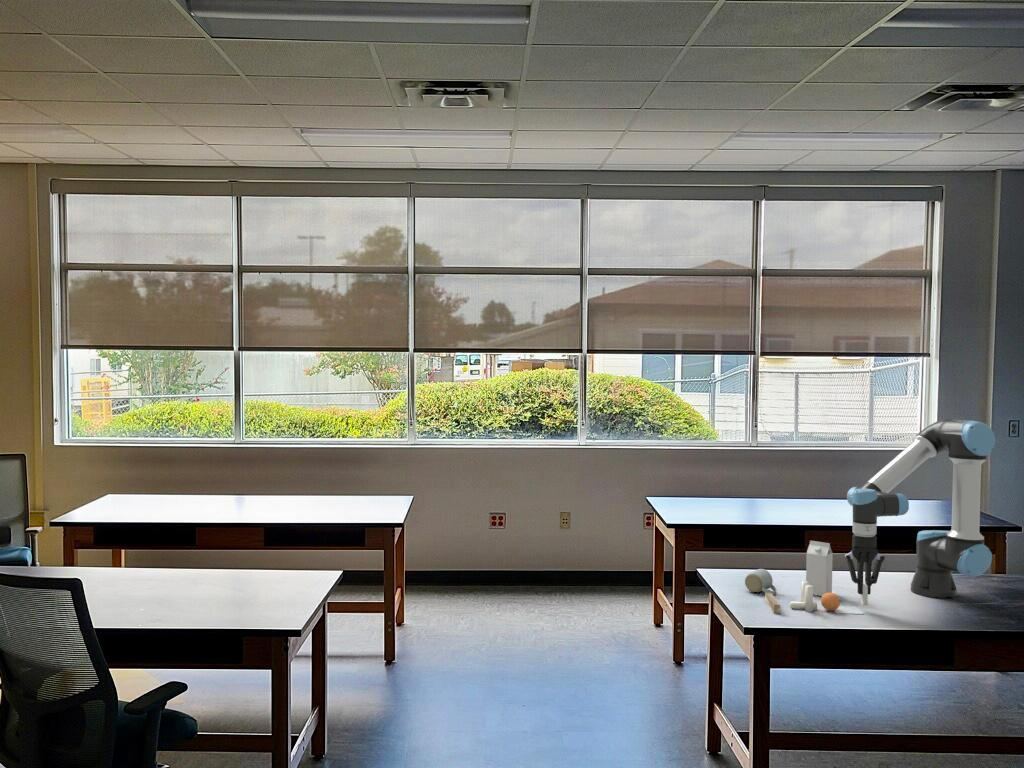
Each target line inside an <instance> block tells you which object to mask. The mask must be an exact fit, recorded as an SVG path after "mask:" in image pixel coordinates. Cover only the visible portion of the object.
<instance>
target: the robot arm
mask: <svg viewBox="0 0 1024 768" xmlns="http://www.w3.org/2000/svg"><path fill="white" fill-rule="evenodd" d="M995 436H996V435H995V434H994V431H993V430H992V428H990V427H989V425H988V424H986V423H984V422H981V421H975V420H969V419H968V420H967V419H966V420H965V419H954V418H945V419H940V420H938V421H935V422H933V423H931V424H929V425H927V427H925V428H923V429H922V430H920V431H919V432H918V433H917V434H916V435H915V436H913V437H912V442H911V443H910V444H909V445H908V446H906V448H904V449H903V450H902V451H901V452H900V453H899V454H897V455H896V456H895V457H894V458H893V459H891V461H888V463H887V464H886V465H885V466H883V467H882V468H881V469H880V470H879V471H878V472H877V473H876V474H874V475H873V476H872V477H871V478H869V479H868V480H867V482H865V483H864V484H863V485H861V486H853V487H851V488H850V489H849V490H848V491H847V493H846V499H847V502H848V504H849V505H850V506H851V507H852V533H853V534H852V540H851V541H852V543H851V549H850V552H848V553H844V554H843V557H844V558H845V560H846V561H847V565H848V566H847V567H848V570H849V575H850V577H851V581H852V582H853V583H854V584H857V594H859V595H860V602H859V603H861V604H862V605H863V606H864V605H865V606H868V601H869V600H868V599H869V598H868V596H869V595H871V587H872V585H873V584H874V585H876V584H877V582H878V580H879V579H878V578H879V575H880V572H881V571H880V570H881V567H882V563H883V562H884V561H885V559H886V557H885V556H884V555H883V554H881V553H879V551H878V549H877V543H878V542H877V539H878V538H877V536H876V535H877V526H878V525H877V524H878V518H879V517H898V516H905V515H906V514H907V513H908V511H909V508H910V507H909V505H910V502H909V499H908V497H907V496H906V495H905V494H903V493H896V492H893V493H890V492H891V491H892V490H894V489H895V488H896V487H897V486H898V485H899V484H900V483H901V482H903V481H904V480H905V479H906V478H907V477H908V476H909V475H911V474H912V473H913V472H914V471H915V470H917V468H918V467H920V466H921V465H922V464H923V463H925V461H926V460H928V459H929V458H935V457H936V456H937V455H938V454H940V453H942V452H948V459H949V461H951V462H952V494H951V495H952V497H951V499H952V501H951V527H950V528H951V529H950V530H941V529H940V530H938V529H937V530H936V529H933V530H931V529H930V530H929V529H928V530H921V531H918V533H917V534H916V535H917V537H916V542H915V543H916V565H915V566H916V569H915V572H914V575H913V577H912V579H911V583H910V591H911V592H912V593H914V594H917V595H920V596H923V597H928V596H929V598H935V597H939V598H938V599H947V598H946V597H953V598H955V597H954V596H956V595H957V596H958V589H957V586H956V582H955V580H954V575H953V572H955V573H958V574H961V575H963V576H969V577H978V576H982V575H983V574H984V573H986V571H987V570H989V568H990V567H991V564H992V561H993V554H992V552H991V550H990V548H989V547H988V546H987V545H985V536H984V535H982V533H981V532H980V528H981V527H980V526H981V525H980V523H981V521H980V519H981V489H982V488H981V486H982V485H981V483H982V465H983V463H985V462H986V461H987V456H988V455H990V454H991V453H992V452H993V450H994V448H995V445H996V437H995ZM853 559H855V560H856V567H857V568H856V569H855V564H854V561H853ZM874 560H875V561H874ZM873 561H874V564H873ZM872 566H873V569H872ZM856 570H857V571H856ZM864 570H865V571H864ZM864 573H865V574H864ZM957 596H956V597H957Z"/></svg>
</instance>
